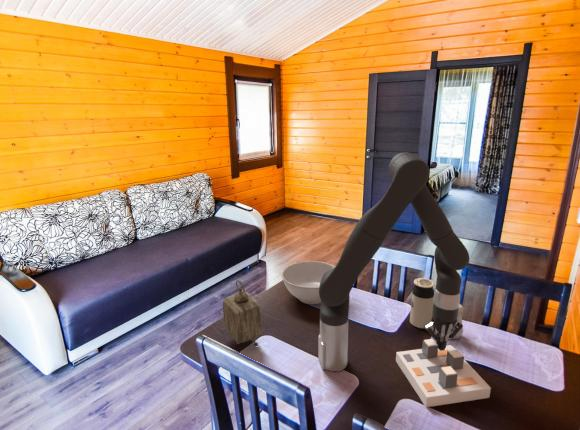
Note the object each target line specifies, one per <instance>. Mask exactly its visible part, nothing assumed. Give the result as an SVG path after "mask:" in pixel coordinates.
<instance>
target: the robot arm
mask: <svg viewBox="0 0 580 430" xmlns="http://www.w3.org/2000/svg"><path fill="white" fill-rule="evenodd" d="M388 173H389V177H390V178H391V182H390V185H389V186H388V188H387V190H386V192H385V193H384V195H383V197H381V199H380V200H379V201H378V202H377V203H375V205H373V206H372V207H371V208H370V209H368V210H367V211H366V212H365V213H364V214H363V215H362V216H361V217H360V219H359V220H358V222H356V224H355V226H354V227H353V229H352V230H351V233H350V235H349V237H348V239H347V241H346V242H345V245H344V248H343V250H342V253H341V255H340V258H339V260H338V262H337V264H336V265H335V268H334V269H331V270H328V271H327V272H325V273H324V275H323V276H322V279H321V282H320V286H319V296H320V299H321V303H320V309H319V334H318V337H317V339H318V342H317V343H318V346H317V348H318V351H317V352H318V353H317V354H318V355H317V356H318V361H320V362H319V364H320V367H321V370H322V369H323V370H322V371H328V370H330V371H329V372H332V371H337V372H341V371H343V370H345V369H346V367H347V366H348V350H349V349H348V347H349V344H348V343H349V313H350V294H351V291H352V289H353V287H354V285H355V283H356V281H357V280H358V278H359V276H360V275H361V274H362V272H363V271H364V269H365V268H366V267H367V265H368V264H369V263H370V262H371V260H372V259H373V258H374V256H375V255H376V253H377V252H378V250H379V249H381V246H382V245H383V243H384V242H385V240H386V239H387V237H388V236H389V234H390V232H391V231H392V230H393V228H394V227H395V225H396V223H397V222H398V221H399V219H400V218H401V216H402V215H403V214H404V212H405V210H406V209H407V208H408V206H410V204H411V206H412V208H413V209H414V211H415V214H416V215H417V218H418V220H419V221H420V224H421V226H422V228H423V230H424V232H425V234H426V236H427V237H428V239H429V240H430V243H432V244H433V245H434V246H436V248H435V249H434V250H435V251H434V259H433V260H434V265H435V271H436V272H435V273H436V281H435V282H436V284H435V289H434V301H433V310H432V319H431V323H430V324H428V325H427V324H425V325H424V327H425V328H424V329H425V330H426V331H427V332H428V333H429V335H430V336H431V337H432V339H433V340H434V341H435V342H436V344H437V345H438V349H439V350H440V351H442V350H445V348H446V346H448V345H447V343H448V341H449V339H451V340H452V338H454V336H455V335H456V334H457V333H458V332H459V331H460V330H461V328H462V327H463V328H464V325H463V323H462V324H461V323H460V322H459V321H457V318H458V310H459V304H460V301H461V286H462V277H461V275H460V273H459V272H458V271H461V270H462V271H463V269H465V268H467V266H468V265H469V263H470V253H469V251H468V249H467V247H466V245H465V244H464V243H463V242H462V241H461V239H460V238H459V237H458V235H457V234H456V233H455V231H454V229H453V227H452V225H451V223H450V222H449V220H448V217H447V216H446V214H445V212H444V210H443V209H442V207H441V206H440V204H439V203H438V201H436V199H435V197H433V194H432V193H431V191H430V189H429V188H428V186H427V183H428V181H429V178H430V173H431V172H430V167H429V165H428V164H427V163H426V162H425V160H423V159H422V158H421V157H419V156H418V155H416V154H414V153H411V152H406V151H403V152H400V153H397V154H396V155H394V156H393V157H392V159H391V160H390V162H389V164H388ZM434 330H435V331H436V332H434ZM452 331H453V333H452V334H451V332H452ZM324 369H326V370H324Z"/></svg>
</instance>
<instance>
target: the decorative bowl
mask: <svg viewBox="0 0 580 430" xmlns="http://www.w3.org/2000/svg"><path fill="white" fill-rule="evenodd" d="M335 267H336V265H333V264H331V263H327V262H323V261H318V260H317V261H314V260H312V261H310V260H309V261H301V262H300V261H299V262H296V263H292V264H291V265H288V266H287V267H285V268H284V269H283V271H282V272H281V278H282V281H283V284H284V285H285V288H286V289H287V291H288V292H289V293H290V295H292V296H293V297H294V298H297V299H298V300H299V301H300V302H301V303H303V304H307V305H319V304H321V299H320V296H319V286H320V282H321V279H322V276H323V275H324V273H325V272H327V271H328V270H331V269H334V268H335ZM318 303H319V304H318Z"/></svg>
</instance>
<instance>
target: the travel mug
mask: <svg viewBox="0 0 580 430" xmlns="http://www.w3.org/2000/svg"><path fill="white" fill-rule="evenodd" d="M413 284H414V285H413V286H412V288H411V289H412V290H411V302H410V314H409V323H410V324H411V326H413V327H416V328H418V329H426V328H425V327H424V325H425V324H427V325H428V324H430V323H431V319H432V317H433V314H432V311H433V301H434V293H435V289H434V287H435V281H433V280H431V279H430V278H425V277H418V278H415V279H414V280H413Z"/></svg>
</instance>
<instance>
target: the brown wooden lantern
mask: <svg viewBox="0 0 580 430" xmlns="http://www.w3.org/2000/svg"><path fill="white" fill-rule="evenodd" d="M238 283H239V284H240V285H241V287H239V285H238ZM235 286H236V289H237V290H238V291H237V292H236V293H235V294H233V295H230V296H226V298H224V299H223V302H222V309H223V319H224V320H223V321H224V327H225V329H226V330H227V332H228V333H229V335H230V337H231V338H232V339H233V340H234V341H235V343H236V345H240V344H241V343H242V344H244V343H246V342H248V341H251V342H253V347H254V346H258V347H259V343H258V342H256V341H255V339H256V338H259V337H261V336H262V334H263V333H262V332H263V331H262V329H263V327H262V326H263V325H262V324H263V323H262V322H263V321H262V312H261V308H260V305H259V303H258V301H257V300H256V299H255V298H254V297H253V296H252V295H251V294H250V293H249V292H247V291H245V290H246V289H245V285H244V284H243V283H242V281H241V280H239V279H236V280H235Z"/></svg>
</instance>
